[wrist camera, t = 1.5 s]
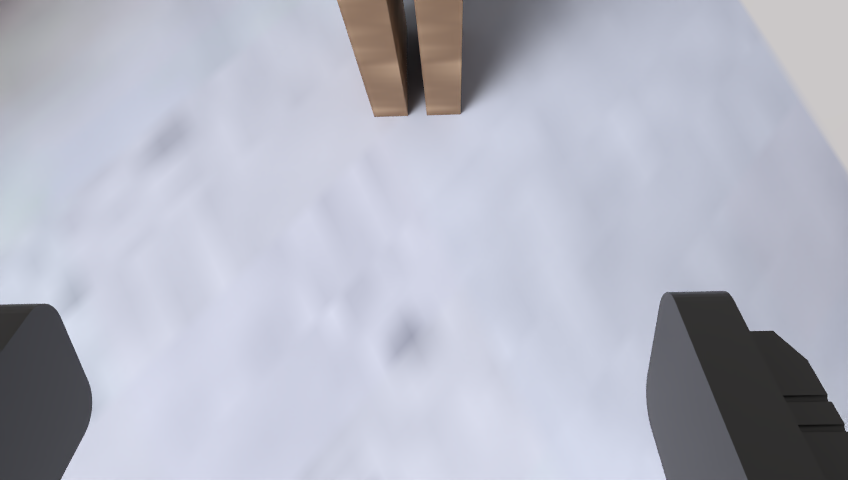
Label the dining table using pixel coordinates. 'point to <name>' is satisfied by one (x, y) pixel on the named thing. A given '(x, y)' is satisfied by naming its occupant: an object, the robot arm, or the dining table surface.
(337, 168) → the dining table surface
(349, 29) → the brown wooden slotted block
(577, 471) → the dining table surface
